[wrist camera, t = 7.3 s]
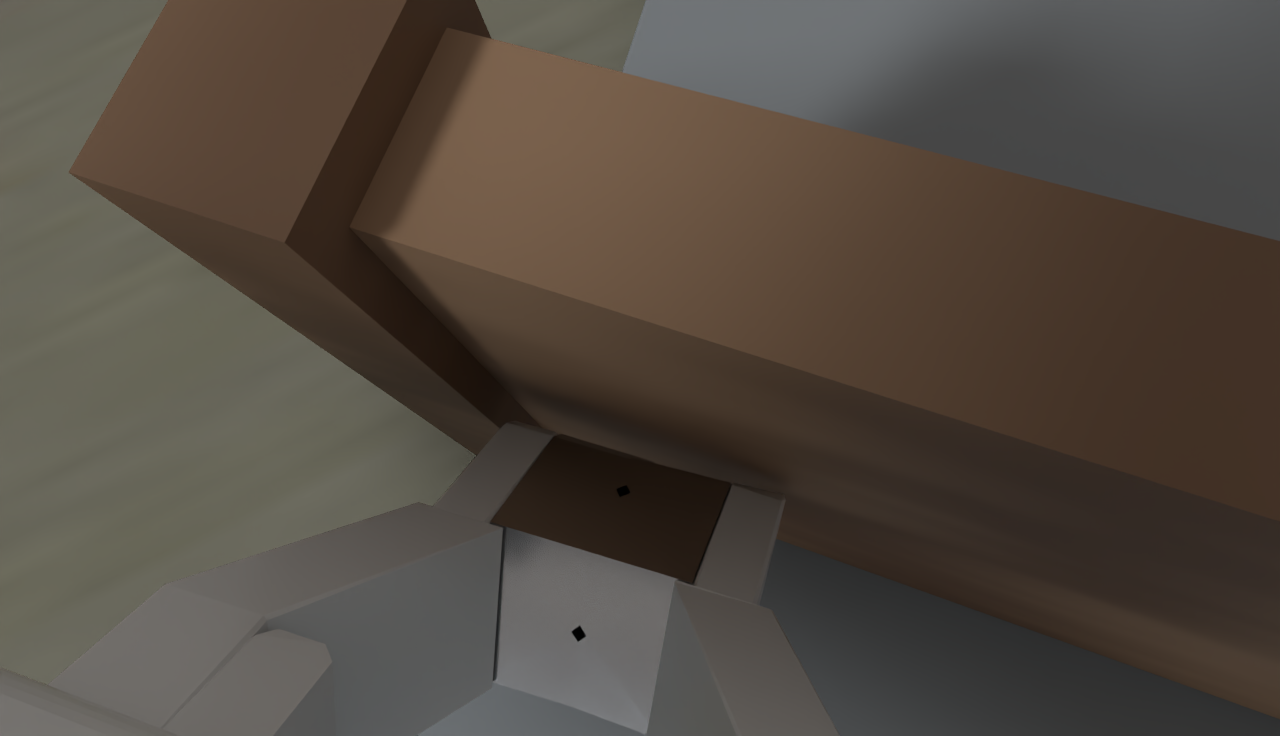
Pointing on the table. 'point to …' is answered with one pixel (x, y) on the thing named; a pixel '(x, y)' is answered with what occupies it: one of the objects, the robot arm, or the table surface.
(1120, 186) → the grey plate
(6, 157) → the table surface
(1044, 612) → the gate leaf
